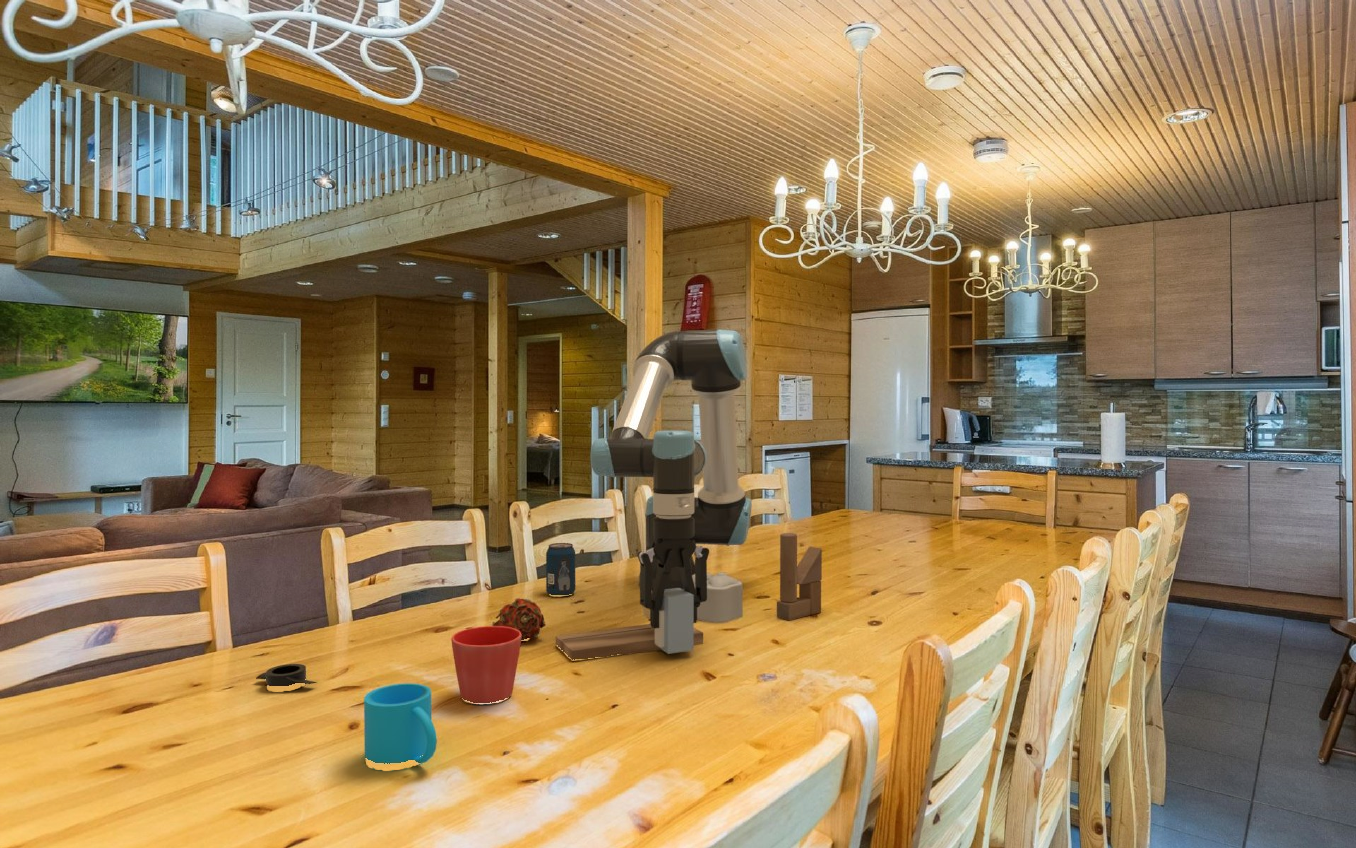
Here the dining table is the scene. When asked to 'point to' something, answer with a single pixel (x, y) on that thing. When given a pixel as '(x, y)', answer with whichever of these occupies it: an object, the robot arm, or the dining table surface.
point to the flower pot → (486, 662)
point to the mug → (399, 724)
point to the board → (613, 642)
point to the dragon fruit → (522, 617)
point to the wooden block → (799, 580)
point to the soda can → (560, 569)
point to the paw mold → (721, 599)
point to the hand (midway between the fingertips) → (673, 642)
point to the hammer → (677, 620)
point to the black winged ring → (285, 675)
